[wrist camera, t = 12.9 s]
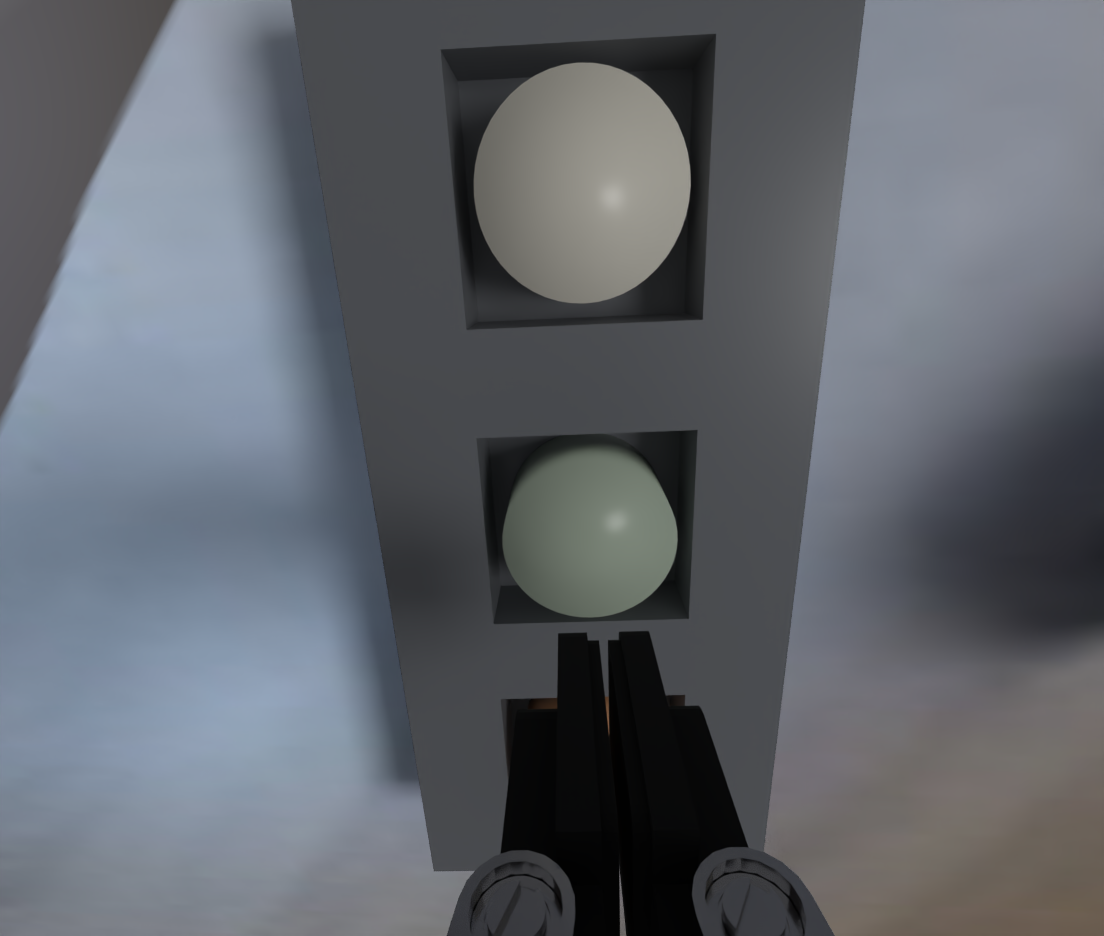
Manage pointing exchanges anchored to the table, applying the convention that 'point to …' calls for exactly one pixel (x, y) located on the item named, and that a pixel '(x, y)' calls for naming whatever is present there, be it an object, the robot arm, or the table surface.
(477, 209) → the cream button
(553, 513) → the sage button
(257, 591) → the table surface
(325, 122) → the button panel
